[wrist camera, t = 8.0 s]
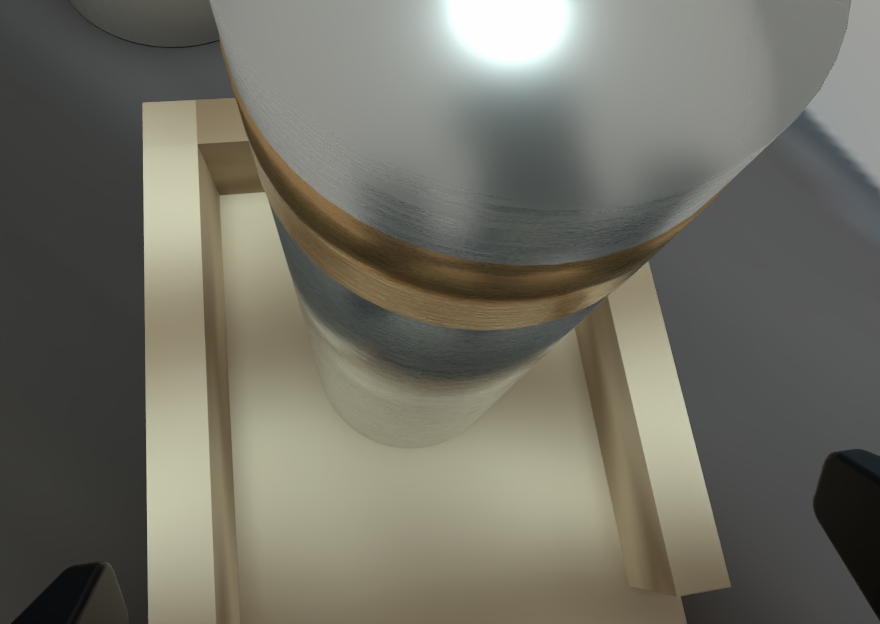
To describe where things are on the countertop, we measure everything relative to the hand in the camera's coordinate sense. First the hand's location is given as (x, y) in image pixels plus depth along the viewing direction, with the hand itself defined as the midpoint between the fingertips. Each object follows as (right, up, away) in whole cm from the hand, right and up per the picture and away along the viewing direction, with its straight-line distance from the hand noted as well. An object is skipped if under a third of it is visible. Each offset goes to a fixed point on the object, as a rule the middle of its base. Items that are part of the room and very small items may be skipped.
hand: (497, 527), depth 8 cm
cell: (-1, +2, +9) cm, 9 cm away
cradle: (-2, +1, +9) cm, 9 cm away
